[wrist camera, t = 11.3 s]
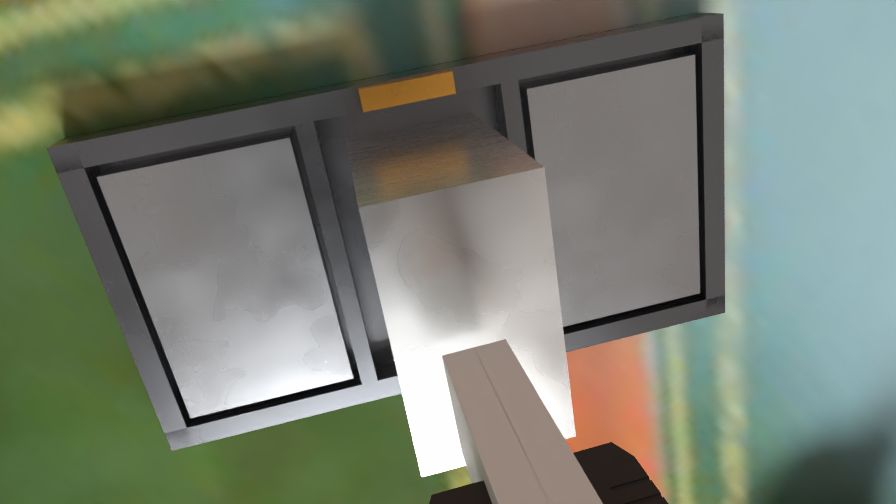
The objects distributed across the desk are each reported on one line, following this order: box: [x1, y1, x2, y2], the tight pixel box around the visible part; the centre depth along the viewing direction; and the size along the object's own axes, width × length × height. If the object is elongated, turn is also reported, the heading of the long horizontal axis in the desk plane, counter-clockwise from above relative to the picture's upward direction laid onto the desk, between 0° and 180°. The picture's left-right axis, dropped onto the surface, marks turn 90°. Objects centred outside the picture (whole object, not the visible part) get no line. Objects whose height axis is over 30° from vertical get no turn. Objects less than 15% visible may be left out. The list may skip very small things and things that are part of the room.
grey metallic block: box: [345, 113, 576, 477], centre depth 21 cm, size 4×8×8 cm, turn 10°
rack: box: [47, 13, 725, 451], centre depth 24 cm, size 22×12×2 cm, turn 100°
